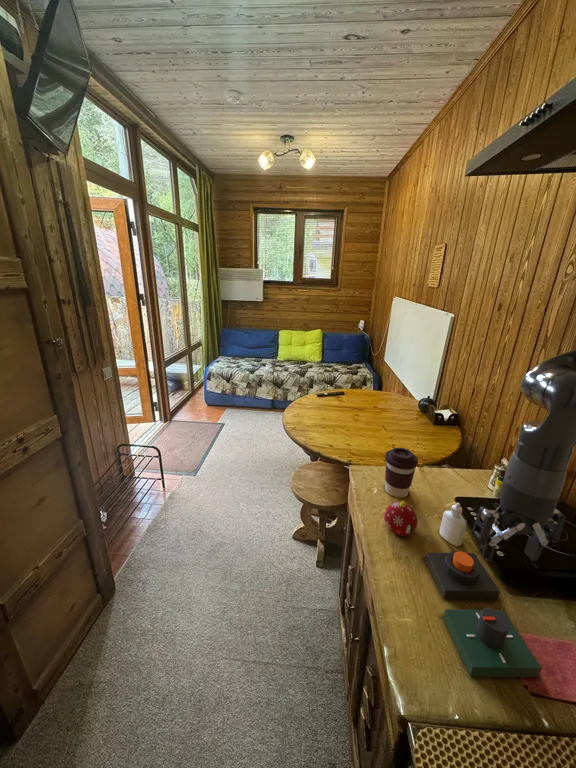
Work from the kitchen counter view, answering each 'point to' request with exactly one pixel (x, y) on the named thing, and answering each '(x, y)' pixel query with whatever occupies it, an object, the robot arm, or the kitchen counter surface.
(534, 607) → the kitchen counter surface
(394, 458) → the coffee cup
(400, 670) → the kitchen counter surface
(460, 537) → the eye dropper bottle
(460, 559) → the orange button cap
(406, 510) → the christmas ornament
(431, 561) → the block
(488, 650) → the green dial base plate
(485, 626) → the knob
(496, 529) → the robot arm
